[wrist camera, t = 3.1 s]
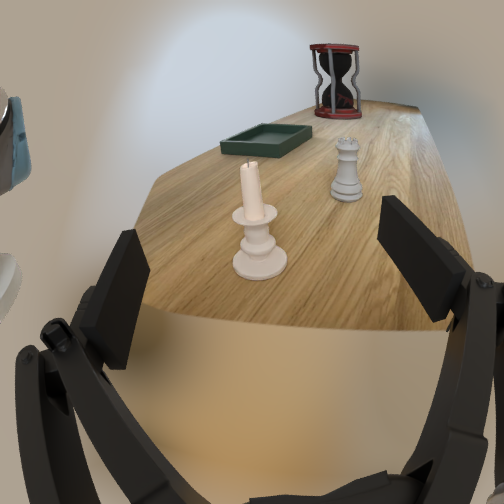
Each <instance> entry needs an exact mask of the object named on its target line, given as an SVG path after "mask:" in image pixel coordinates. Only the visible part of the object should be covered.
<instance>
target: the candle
mask: <svg viewBox="0 0 504 504" xmlns="http://www.w3.org/2000/svg"><path fill="white" fill-rule="evenodd" d="M240 177H241V189H242V198H243V206H242V207H240V208H238V209H237V210H235V211H234V212H233V215H232V218H233V220H234V222H236V223H238V224H240V225H244V234H245V237H244V238H243V239H242V240H241V243H240V244H241V250H240V251H238V252H237V253H236V254H235V256H234V258H233V268H234V270H235V272H236V273H237V274H238V275H239V276H241V277H243V278H246V279H249V280H266V279H270V278H273V277H275V276H277V275H278V274H280V273H281V272H282V271H283V270H284V269H285V268H286V265H287V255H286V252H285V251H284V250H283V249H282V248H280V247H278V246H276V245H275V244H276V242H275V238H274V237H273V236H272V235H270V234H269V227H268V222H270V221H272V220H273V219H275V217H276V216H277V210H276V208H274V207H273V206H271V205H268V204H263V199H262V191H261V183H260V176H259V170H258V163H257V162H249V160H248V158H247V163H246V164H243V165H242V166H241V167H240Z"/></svg>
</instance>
